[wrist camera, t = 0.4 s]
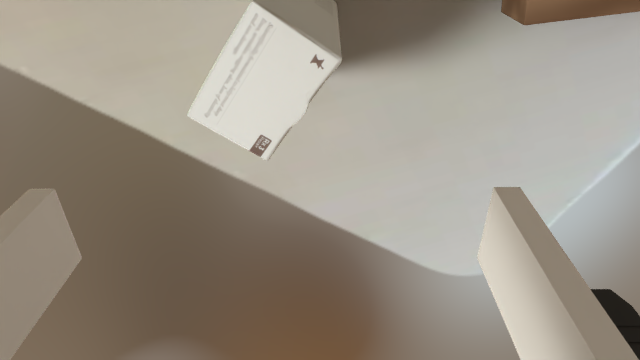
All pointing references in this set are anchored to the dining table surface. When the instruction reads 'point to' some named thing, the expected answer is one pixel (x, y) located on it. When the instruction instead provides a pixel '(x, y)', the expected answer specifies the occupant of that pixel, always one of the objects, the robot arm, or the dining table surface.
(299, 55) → the skincare box
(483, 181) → the dining table surface
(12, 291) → the robot arm
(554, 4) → the walnut plinth
